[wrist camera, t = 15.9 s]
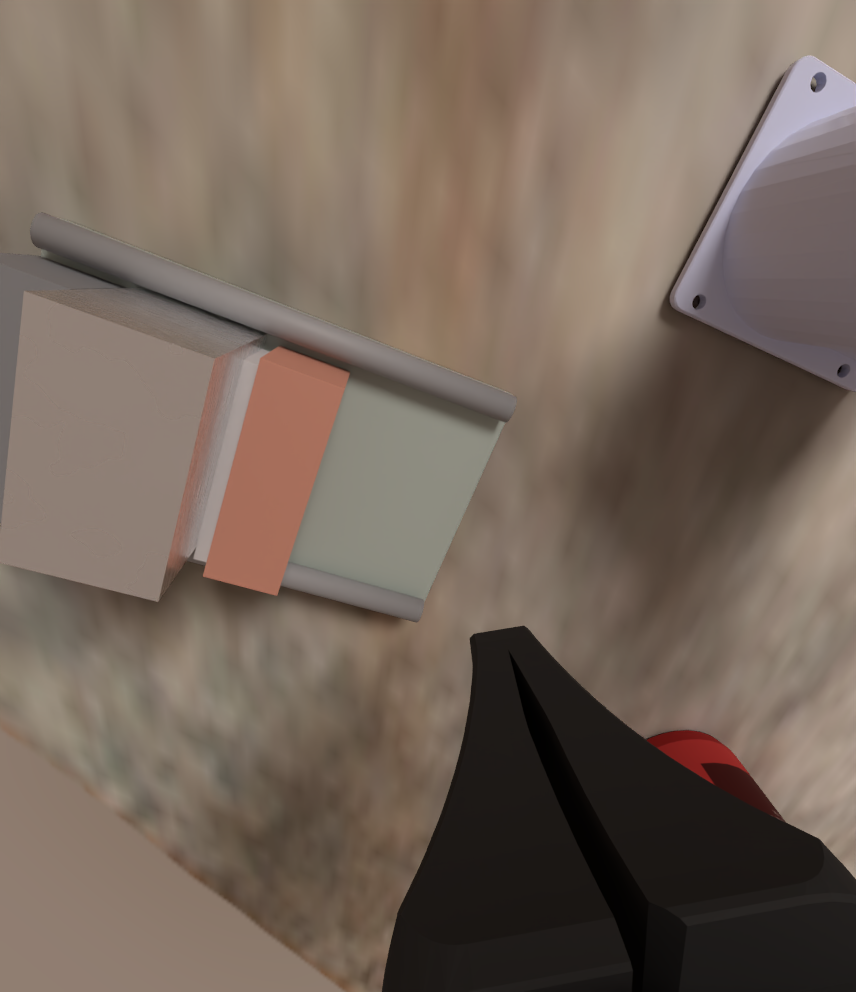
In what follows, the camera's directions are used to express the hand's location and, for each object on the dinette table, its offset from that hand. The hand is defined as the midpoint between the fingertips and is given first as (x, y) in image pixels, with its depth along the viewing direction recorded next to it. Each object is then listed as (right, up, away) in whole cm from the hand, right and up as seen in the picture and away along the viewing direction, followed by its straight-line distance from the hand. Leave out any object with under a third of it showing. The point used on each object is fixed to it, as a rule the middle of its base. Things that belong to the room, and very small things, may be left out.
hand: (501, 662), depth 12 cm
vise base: (-11, +7, +7) cm, 14 cm away
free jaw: (-7, +6, +7) cm, 11 cm away
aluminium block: (-10, +7, +6) cm, 14 cm away
